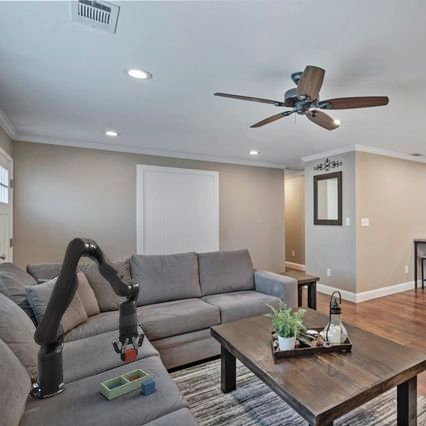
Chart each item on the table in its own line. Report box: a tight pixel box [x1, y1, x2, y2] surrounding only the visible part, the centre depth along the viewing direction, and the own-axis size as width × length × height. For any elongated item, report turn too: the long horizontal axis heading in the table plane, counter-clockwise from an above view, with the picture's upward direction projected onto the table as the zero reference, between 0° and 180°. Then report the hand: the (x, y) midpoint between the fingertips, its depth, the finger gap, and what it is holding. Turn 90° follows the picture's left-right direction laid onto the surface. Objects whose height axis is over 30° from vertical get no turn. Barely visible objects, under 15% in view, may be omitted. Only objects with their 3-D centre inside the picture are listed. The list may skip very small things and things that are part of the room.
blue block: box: [140, 378, 156, 396], centre depth 151 cm, size 4×4×4 cm
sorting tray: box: [99, 368, 151, 401], centre depth 156 cm, size 18×12×4 cm, turn 141°
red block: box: [124, 347, 137, 363], centre depth 153 cm, size 4×4×4 cm
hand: (129, 358), depth 153 cm, fingers closed on red block, 4 cm apart
